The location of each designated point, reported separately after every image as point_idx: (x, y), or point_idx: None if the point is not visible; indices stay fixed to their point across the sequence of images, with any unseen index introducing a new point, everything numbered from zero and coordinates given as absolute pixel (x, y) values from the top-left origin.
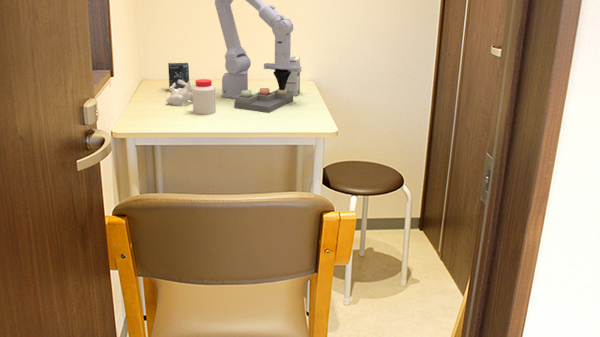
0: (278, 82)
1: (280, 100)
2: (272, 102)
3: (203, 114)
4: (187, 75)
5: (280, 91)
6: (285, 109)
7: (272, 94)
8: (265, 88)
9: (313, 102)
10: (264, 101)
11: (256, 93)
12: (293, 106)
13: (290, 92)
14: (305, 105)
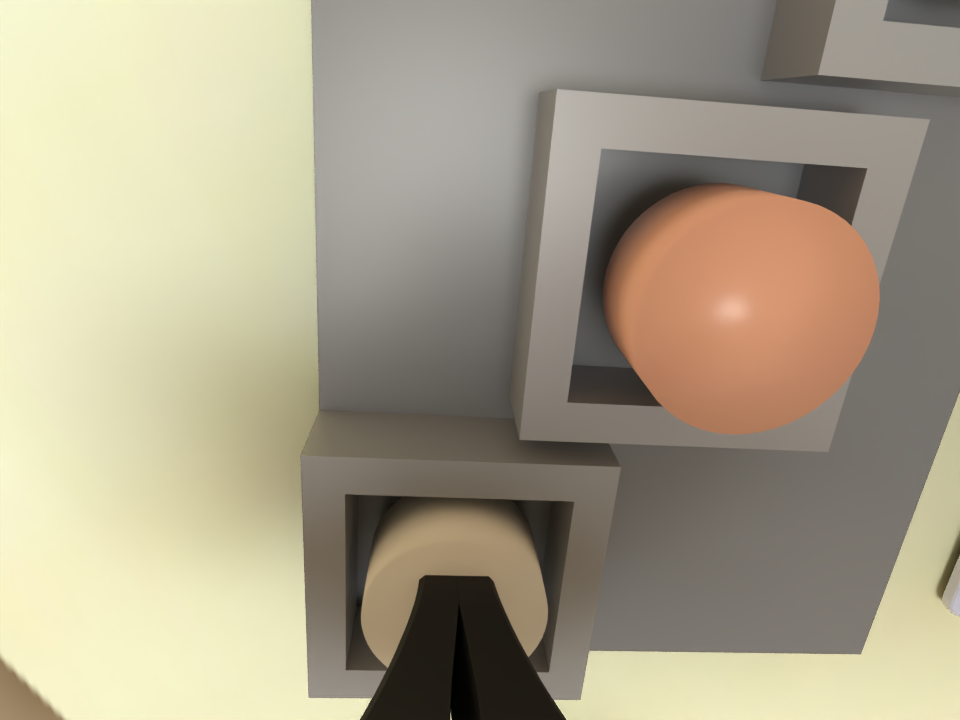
0: (520, 684)
1: (358, 283)
2: (427, 56)
3: None
4: None
5: (449, 529)
6: (176, 63)
7: (533, 310)
8: (750, 386)
9: (56, 629)
10: (607, 63)
11: (882, 248)
12: (170, 318)
13: (306, 618)
14: (49, 448)
